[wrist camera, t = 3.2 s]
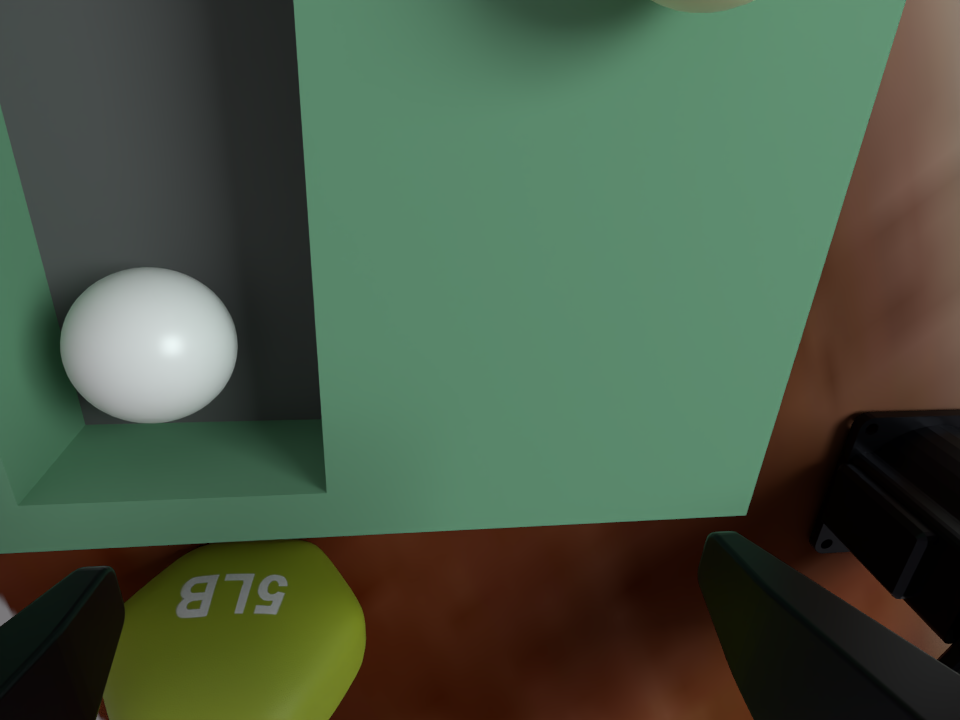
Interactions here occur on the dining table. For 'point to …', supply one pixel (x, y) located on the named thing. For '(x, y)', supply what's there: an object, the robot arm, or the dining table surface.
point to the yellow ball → (701, 5)
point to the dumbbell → (238, 637)
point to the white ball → (148, 345)
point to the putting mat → (421, 254)
